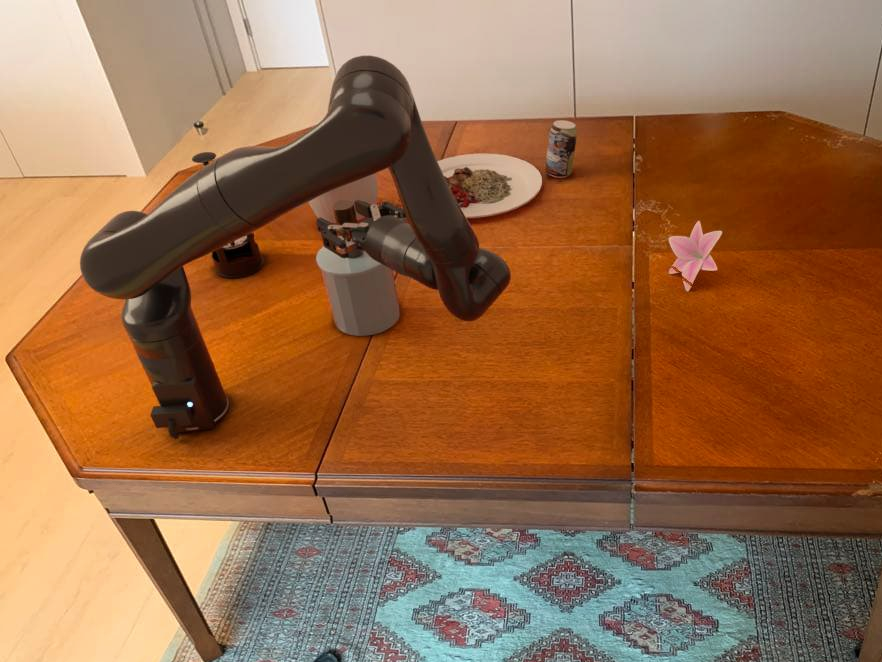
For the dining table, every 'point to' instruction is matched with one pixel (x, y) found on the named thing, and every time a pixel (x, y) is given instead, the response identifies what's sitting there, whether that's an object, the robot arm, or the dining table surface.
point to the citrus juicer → (346, 197)
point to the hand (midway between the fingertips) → (338, 214)
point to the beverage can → (561, 148)
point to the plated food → (490, 183)
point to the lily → (694, 253)
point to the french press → (234, 246)
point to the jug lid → (357, 259)
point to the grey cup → (363, 301)
